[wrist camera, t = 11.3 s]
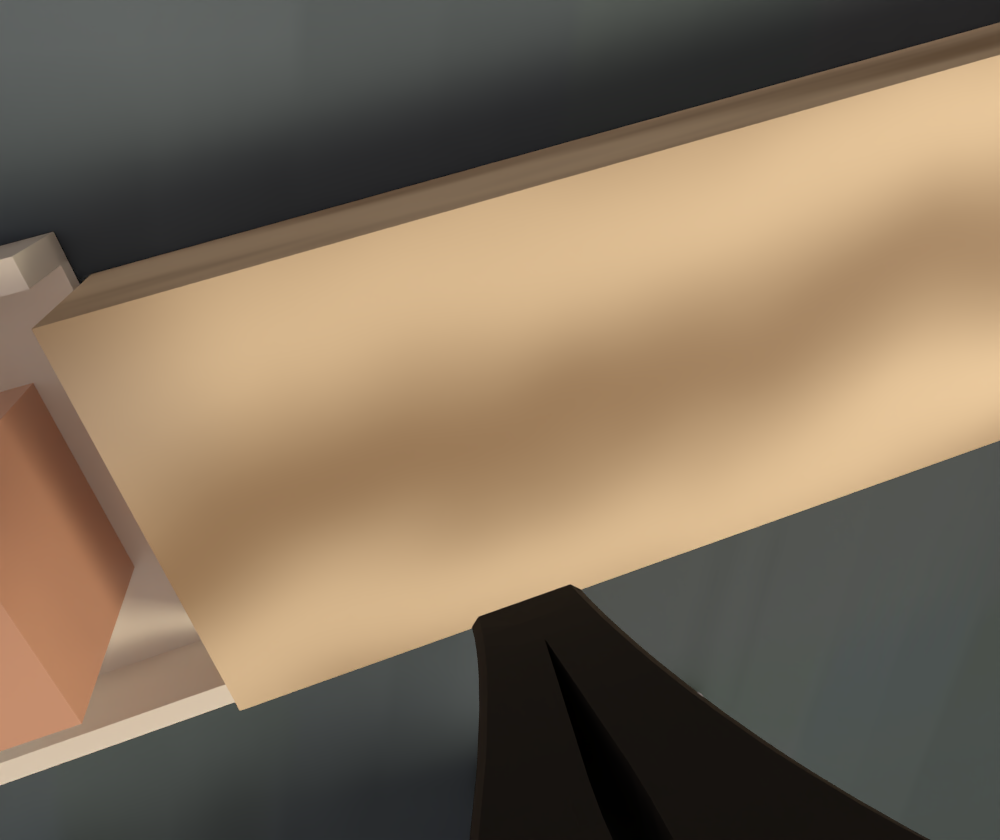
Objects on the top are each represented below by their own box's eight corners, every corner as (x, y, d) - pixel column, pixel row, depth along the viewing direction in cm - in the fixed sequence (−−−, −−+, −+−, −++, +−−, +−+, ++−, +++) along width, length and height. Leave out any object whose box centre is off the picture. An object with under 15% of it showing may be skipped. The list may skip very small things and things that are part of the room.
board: (1029, 335, 23) (1165, 381, 19) (249, 598, 20) (239, 710, 16) (1064, 4, 19) (1244, -15, 15) (90, 274, 16) (31, 329, 12)
